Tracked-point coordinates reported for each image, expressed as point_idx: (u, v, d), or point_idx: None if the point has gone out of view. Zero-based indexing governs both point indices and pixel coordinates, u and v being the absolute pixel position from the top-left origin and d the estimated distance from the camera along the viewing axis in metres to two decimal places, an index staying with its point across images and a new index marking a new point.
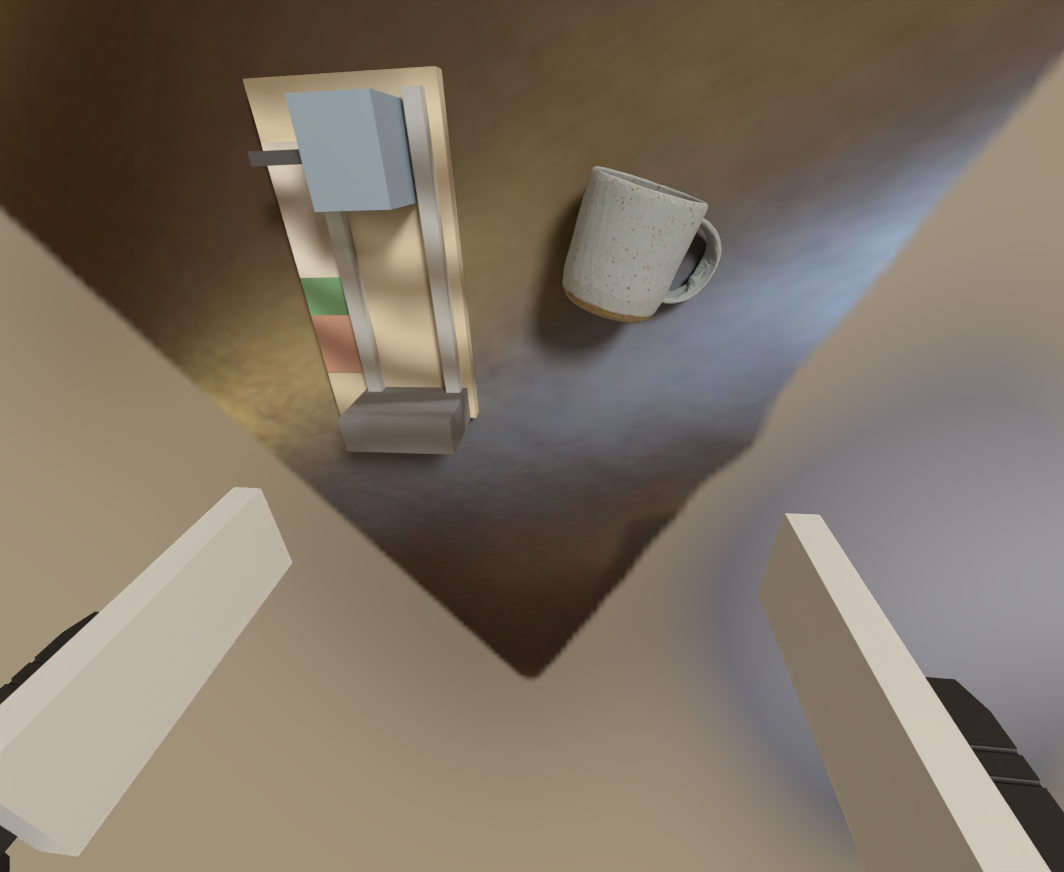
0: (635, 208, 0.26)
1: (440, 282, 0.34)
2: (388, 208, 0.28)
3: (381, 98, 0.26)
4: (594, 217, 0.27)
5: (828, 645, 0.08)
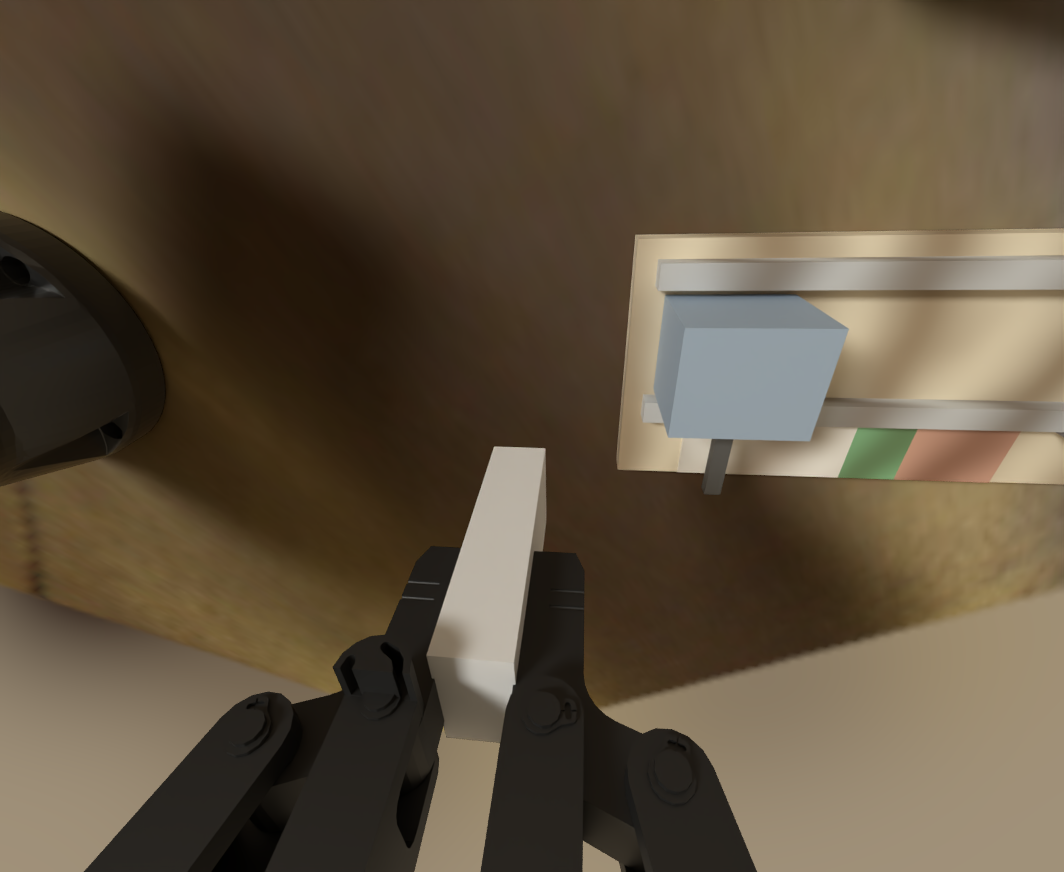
0: None
1: (942, 270, 0.19)
2: (845, 332, 0.17)
3: (685, 316, 0.19)
4: None
5: None
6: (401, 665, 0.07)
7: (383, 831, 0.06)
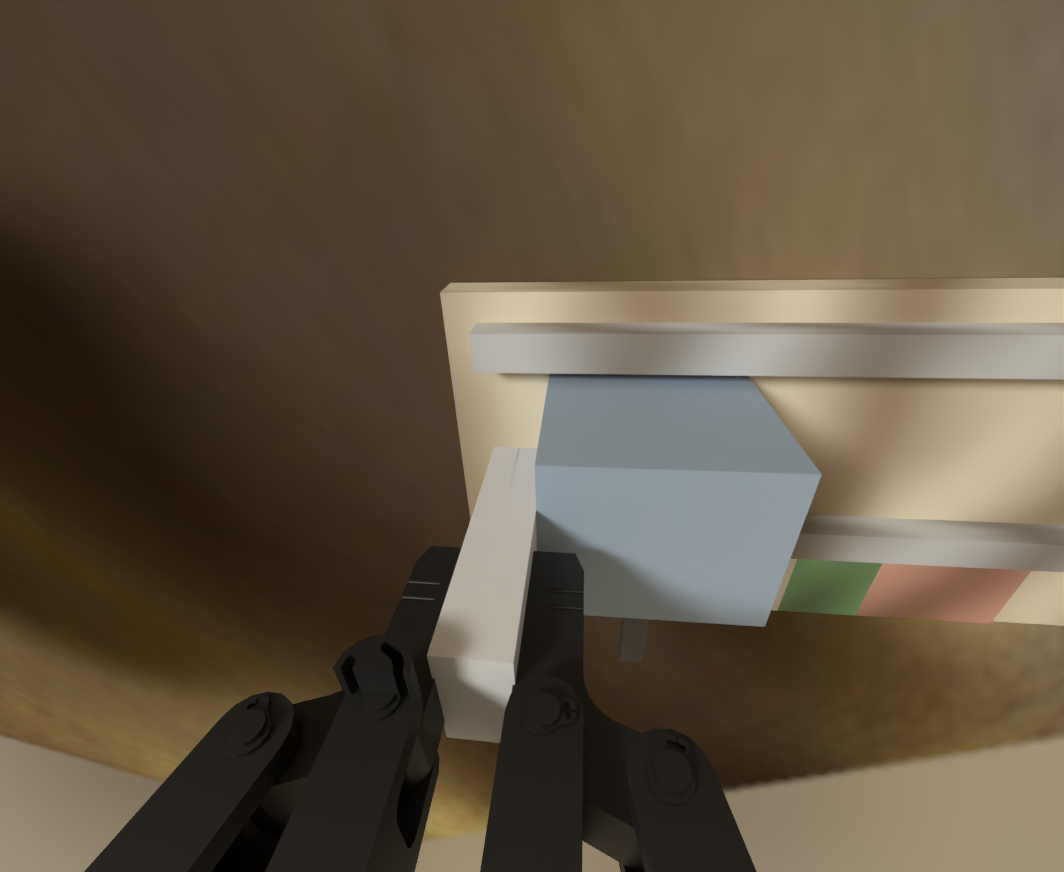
0: None
1: (911, 349, 0.12)
2: (816, 480, 0.10)
3: (552, 429, 0.11)
4: None
5: None
6: (401, 665, 0.07)
7: (383, 831, 0.06)
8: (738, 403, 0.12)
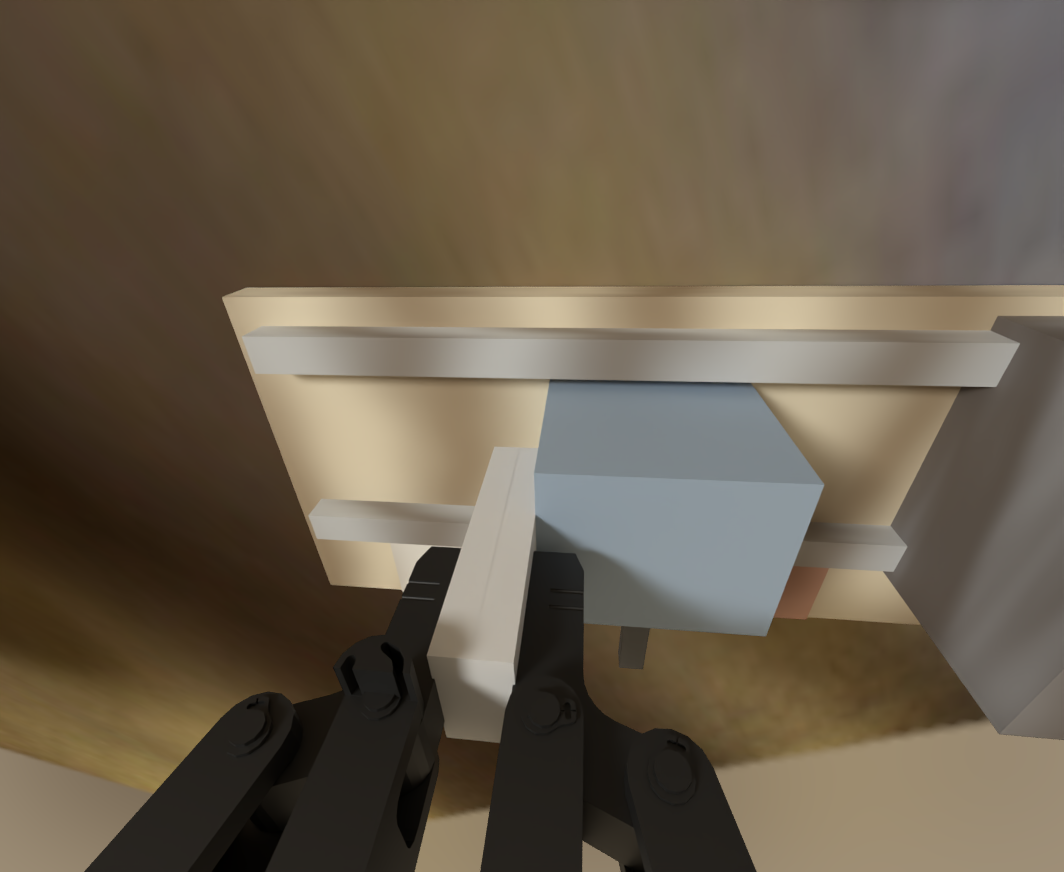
0: None
1: (644, 354, 0.13)
2: (818, 490, 0.09)
3: (553, 436, 0.11)
4: None
5: None
6: (401, 665, 0.07)
7: (383, 831, 0.06)
8: (740, 410, 0.12)
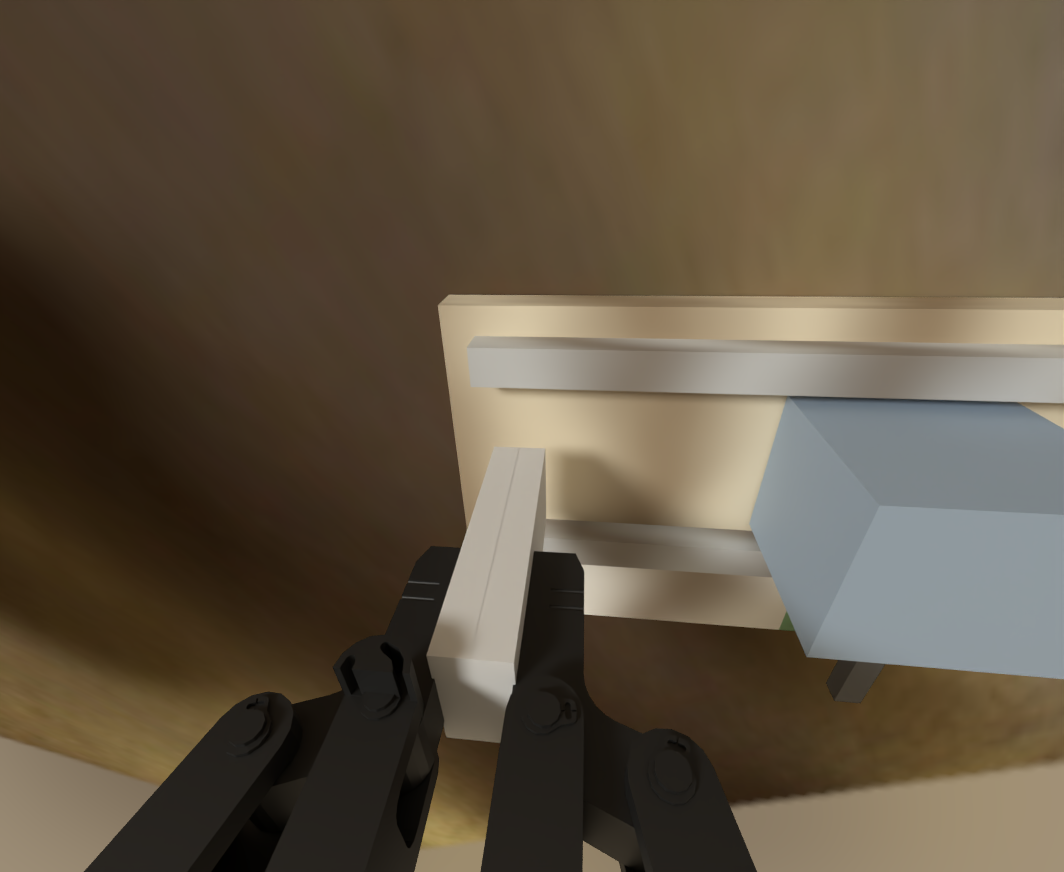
0: None
1: (920, 370, 0.12)
2: None
3: (858, 461, 0.10)
4: None
5: None
6: (401, 665, 0.07)
7: (383, 831, 0.06)
8: (1038, 433, 0.11)
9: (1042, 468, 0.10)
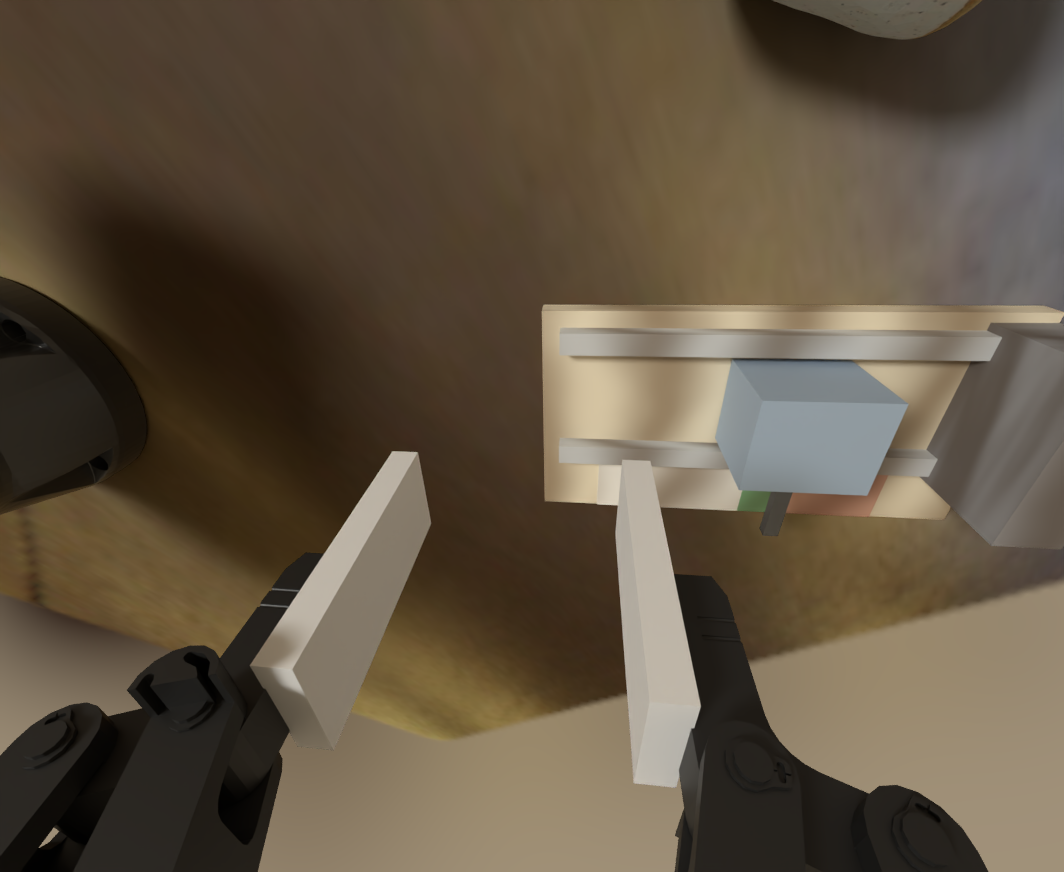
0: None
1: (796, 343, 0.23)
2: (905, 407, 0.20)
3: (758, 385, 0.21)
4: None
5: (627, 557, 0.10)
6: None
7: (199, 827, 0.06)
8: (852, 373, 0.22)
9: (844, 387, 0.21)
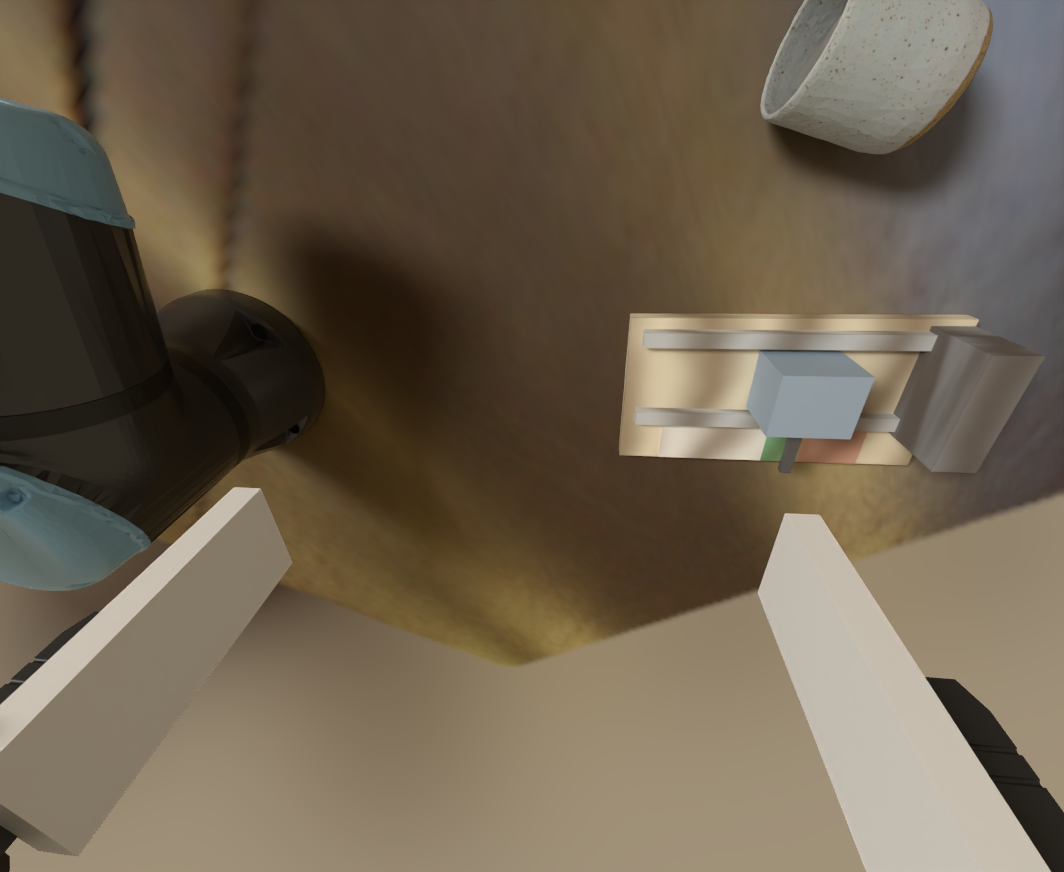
0: (850, 50, 0.22)
1: (803, 339, 0.34)
2: (873, 379, 0.31)
3: (779, 367, 0.33)
4: (834, 110, 0.24)
5: (828, 646, 0.08)
6: None
7: None
8: (841, 359, 0.34)
9: (835, 367, 0.33)
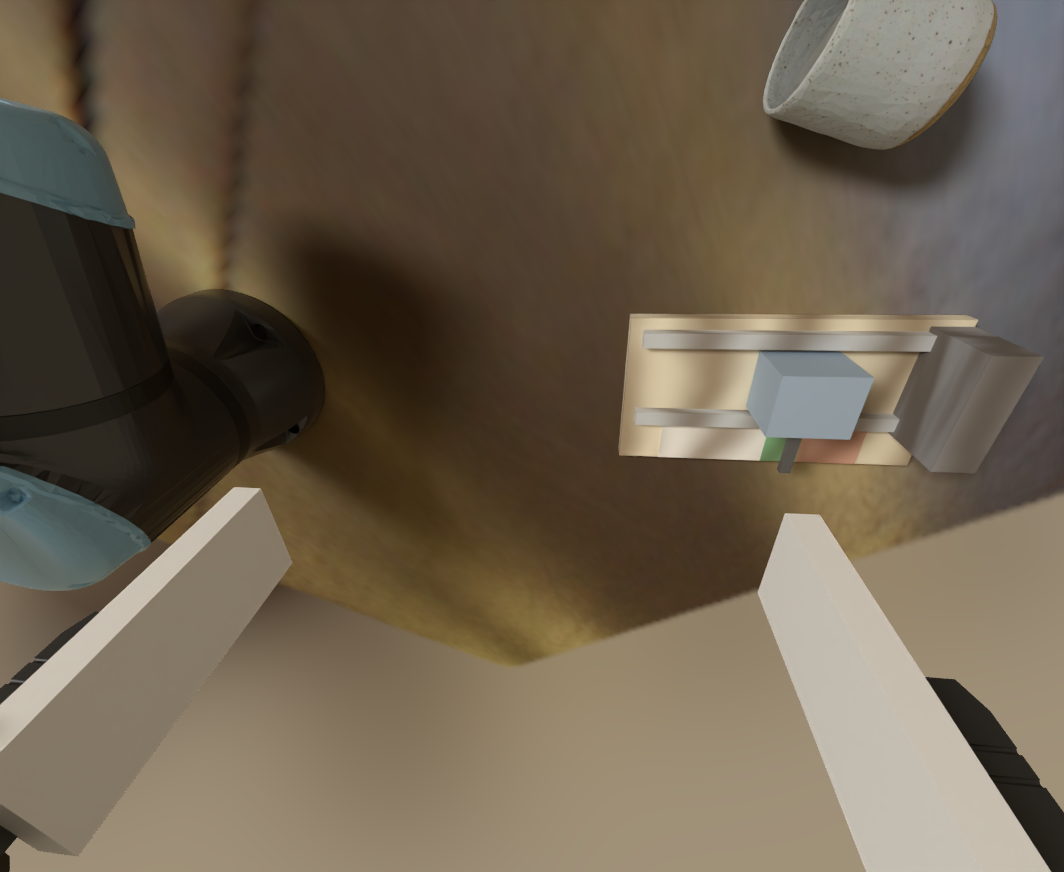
0: (854, 44, 0.22)
1: (803, 340, 0.34)
2: (872, 379, 0.31)
3: (779, 367, 0.33)
4: (837, 104, 0.24)
5: (828, 646, 0.08)
6: None
7: None
8: (840, 360, 0.34)
9: (834, 368, 0.33)
